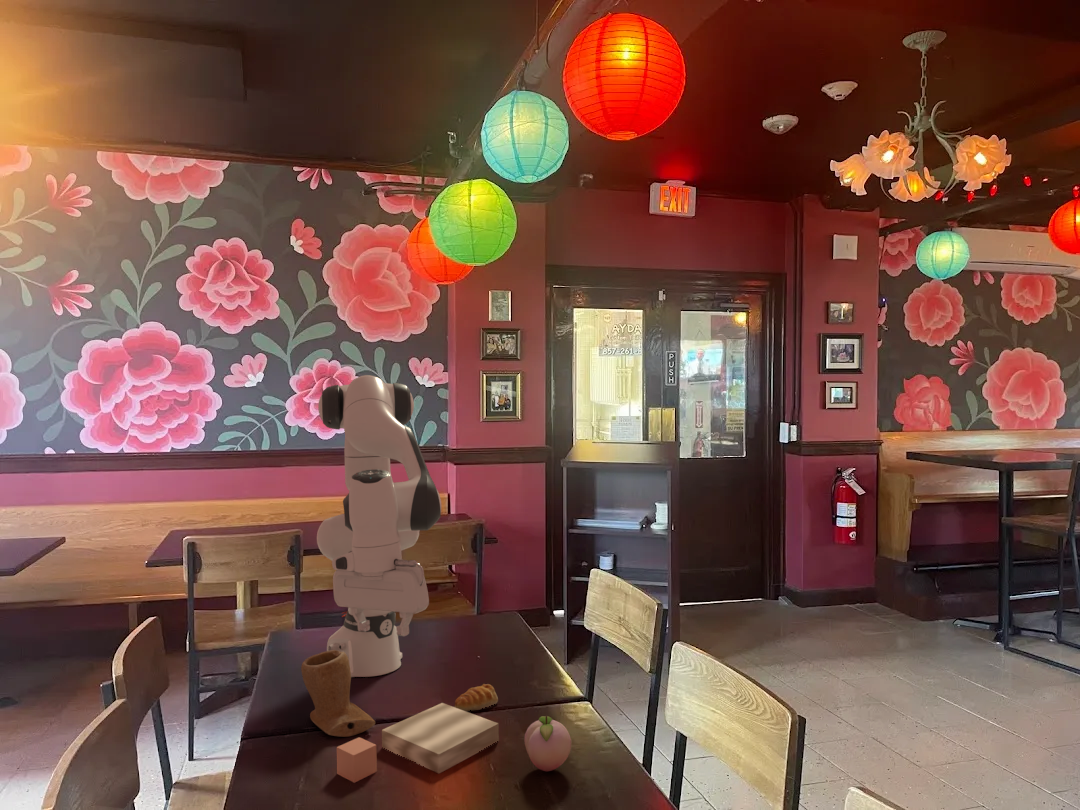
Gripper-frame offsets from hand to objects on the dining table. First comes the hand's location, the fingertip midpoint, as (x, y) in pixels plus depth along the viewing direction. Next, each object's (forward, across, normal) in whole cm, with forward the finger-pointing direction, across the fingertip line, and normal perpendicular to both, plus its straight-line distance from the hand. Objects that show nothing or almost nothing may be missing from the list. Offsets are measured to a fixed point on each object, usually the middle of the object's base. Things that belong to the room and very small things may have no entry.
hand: (383, 632), depth 142 cm
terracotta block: (+24, +4, +5) cm, 25 cm away
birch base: (+25, -3, -11) cm, 28 cm away
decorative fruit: (+27, -26, -12) cm, 39 cm away
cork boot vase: (+24, +21, -7) cm, 32 cm away
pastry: (+26, +2, -30) cm, 39 cm away
